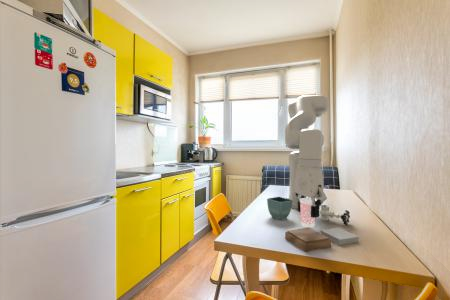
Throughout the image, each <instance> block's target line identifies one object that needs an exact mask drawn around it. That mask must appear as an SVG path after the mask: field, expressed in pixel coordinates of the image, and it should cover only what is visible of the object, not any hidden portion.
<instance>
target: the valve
mask: <svg viewBox="0 0 450 300" xmlns="http://www.w3.org/2000/svg"><path fill="white" fill-rule="evenodd" d="M319 215H320V220H321V221H324V220H325V221H324V222H326V220H329V221H330V218H331V219H333V218H336V219H341V221H342V222H343V225H345V226H349V223H350V218H351V216H350V211H349V210H345V211H344V212H343V214H340V213H335V212H334V211H333V210H330V206H329V205H326V204H321V206H320V209H319Z"/></svg>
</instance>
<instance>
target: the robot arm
mask: <svg viewBox="0 0 450 300" xmlns="http://www.w3.org/2000/svg"><path fill="white" fill-rule="evenodd" d="M287 109H288V111H287V112H288V115H289V120H288V122H287V123H286V126H285V127H284V128H285V129H284V142H285V143H284V144H285V147H287V148H288V149H290V150H295V151H292V152H290V153H289V155H288V165H289V166H288V167H289V189H288V190H289V192H288V196H287V197H285V198H286V199H290V200H293V201H292V207H291V209H295V210H296V209H297V212H299V213H301V208H300V198H308V197H309V198H311V200H312V205H313V206H311V217H312V218H315V219H316V218H319V217H320V210H321V205H323V203H324V202H325V201H326V200H328V198H327V195H326V194H325V192H324V177H323V176H324V175H323V169H322V159H323V145H324V141H325V135H323V132H322V131H321V130H320V129H317V128H316V129H315V128H309V127H311V126H312V125H313V124H315V123H316V120H317V118H321V117H323V116H324V115H325V114H326V113H327V111H328V109H329V100H328V98H327V97H326V96H325V95H324V94H311V95H310V94H307V95H301V96H299V97H297V99H296V100H295V101H292V102H289V104H288V107H287ZM297 150H298V151H297ZM315 200H317V201H316V202H315Z"/></svg>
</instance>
